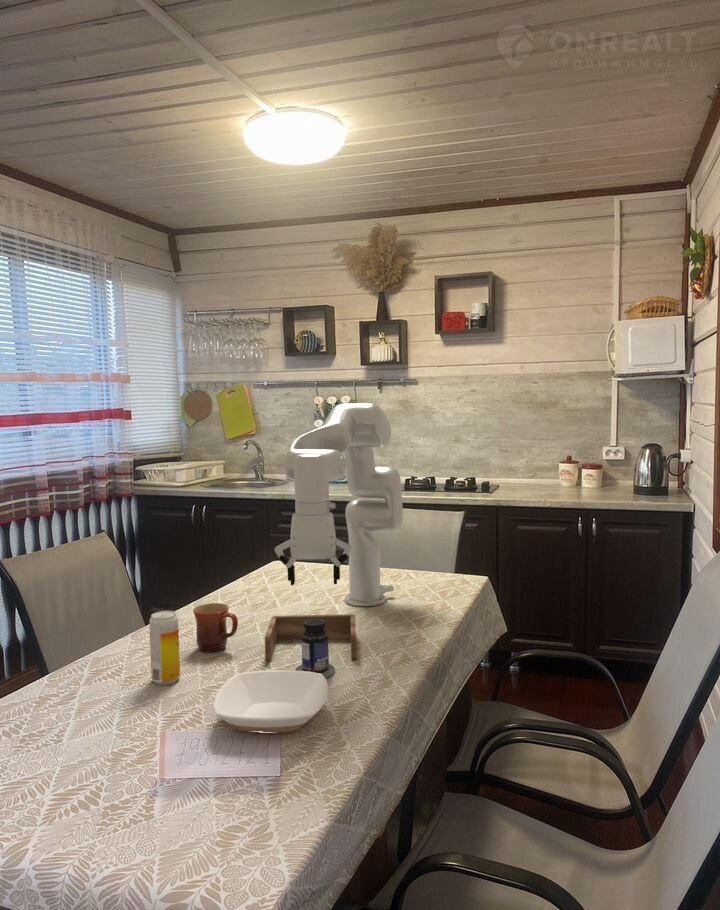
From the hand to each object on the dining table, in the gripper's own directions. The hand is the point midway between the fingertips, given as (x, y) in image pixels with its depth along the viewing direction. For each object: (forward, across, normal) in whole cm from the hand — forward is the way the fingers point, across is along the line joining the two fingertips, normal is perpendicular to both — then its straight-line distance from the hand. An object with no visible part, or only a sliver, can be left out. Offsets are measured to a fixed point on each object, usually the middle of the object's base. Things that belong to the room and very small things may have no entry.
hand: (314, 583), depth 150 cm
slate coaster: (+20, 0, +1) cm, 21 cm away
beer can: (+20, +33, +4) cm, 39 cm away
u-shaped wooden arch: (+21, +2, -13) cm, 25 cm away
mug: (+21, +25, -14) cm, 36 cm away
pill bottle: (+20, 0, +1) cm, 20 cm away
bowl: (+20, +8, +22) cm, 31 cm away
